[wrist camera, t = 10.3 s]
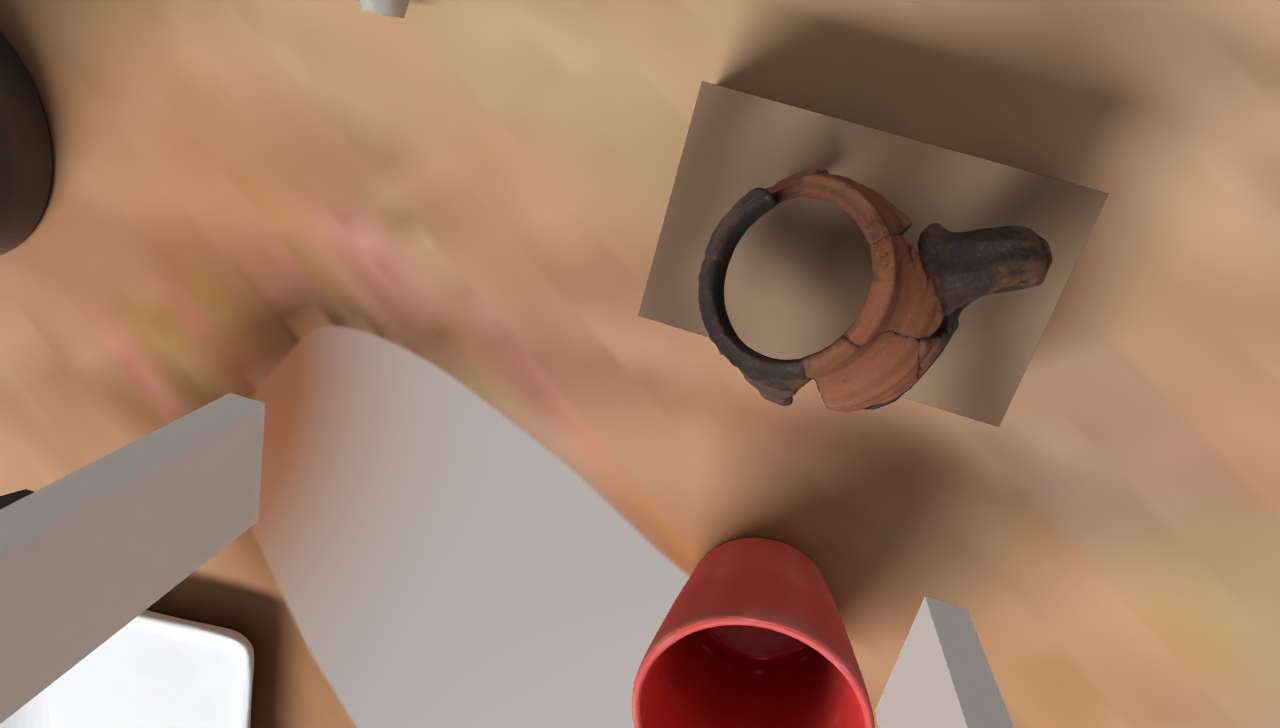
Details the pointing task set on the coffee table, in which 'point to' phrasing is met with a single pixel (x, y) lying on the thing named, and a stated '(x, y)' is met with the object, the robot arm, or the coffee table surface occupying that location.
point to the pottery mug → (873, 294)
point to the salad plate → (152, 680)
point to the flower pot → (752, 648)
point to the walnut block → (855, 240)
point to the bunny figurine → (385, 7)
